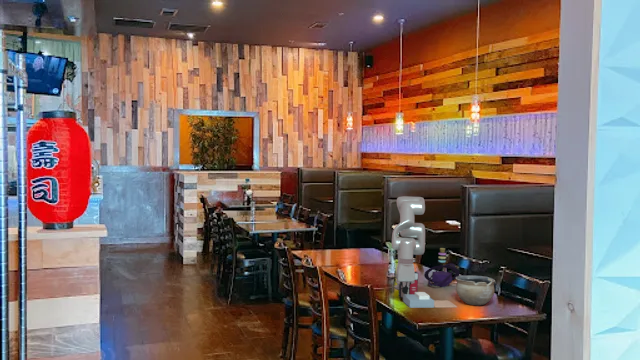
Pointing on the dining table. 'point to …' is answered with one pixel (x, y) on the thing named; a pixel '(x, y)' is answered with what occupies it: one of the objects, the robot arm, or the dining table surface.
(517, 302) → the dining table surface
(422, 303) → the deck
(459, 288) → the ceramic bowl
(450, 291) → the dining table surface
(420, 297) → the tile
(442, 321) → the dining table surface
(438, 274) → the decorative bottle
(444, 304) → the mat
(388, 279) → the dining table surface
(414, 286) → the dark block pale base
